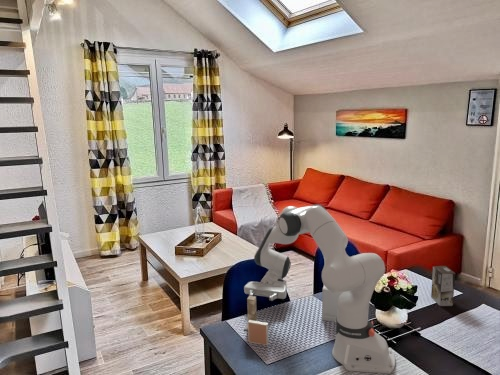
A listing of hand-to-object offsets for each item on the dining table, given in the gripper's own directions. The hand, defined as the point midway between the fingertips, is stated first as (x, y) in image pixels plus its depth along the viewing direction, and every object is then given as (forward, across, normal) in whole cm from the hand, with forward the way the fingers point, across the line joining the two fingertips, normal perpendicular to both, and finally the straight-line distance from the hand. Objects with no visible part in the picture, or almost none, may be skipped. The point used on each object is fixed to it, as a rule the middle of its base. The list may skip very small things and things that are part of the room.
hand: (260, 297), depth 172 cm
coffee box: (-34, +79, +8) cm, 86 cm away
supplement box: (-6, +32, +8) cm, 33 cm away
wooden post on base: (+12, 0, +8) cm, 14 cm away
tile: (+22, +6, +8) cm, 24 cm away
